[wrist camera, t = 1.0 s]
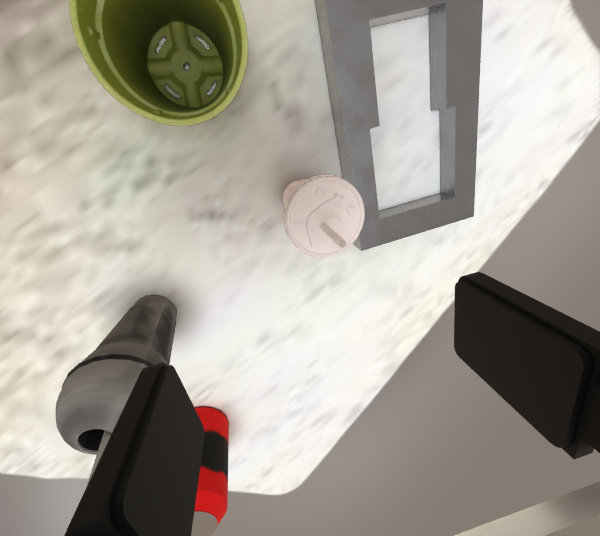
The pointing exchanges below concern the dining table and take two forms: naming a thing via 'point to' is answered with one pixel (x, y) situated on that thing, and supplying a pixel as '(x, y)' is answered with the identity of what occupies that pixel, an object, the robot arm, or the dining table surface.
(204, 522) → the soda can
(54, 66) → the dining table surface
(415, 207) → the keyhole plate
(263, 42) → the dining table surface
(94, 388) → the beverage cup
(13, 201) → the dining table surface
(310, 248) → the smoothie
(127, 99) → the plant pot
